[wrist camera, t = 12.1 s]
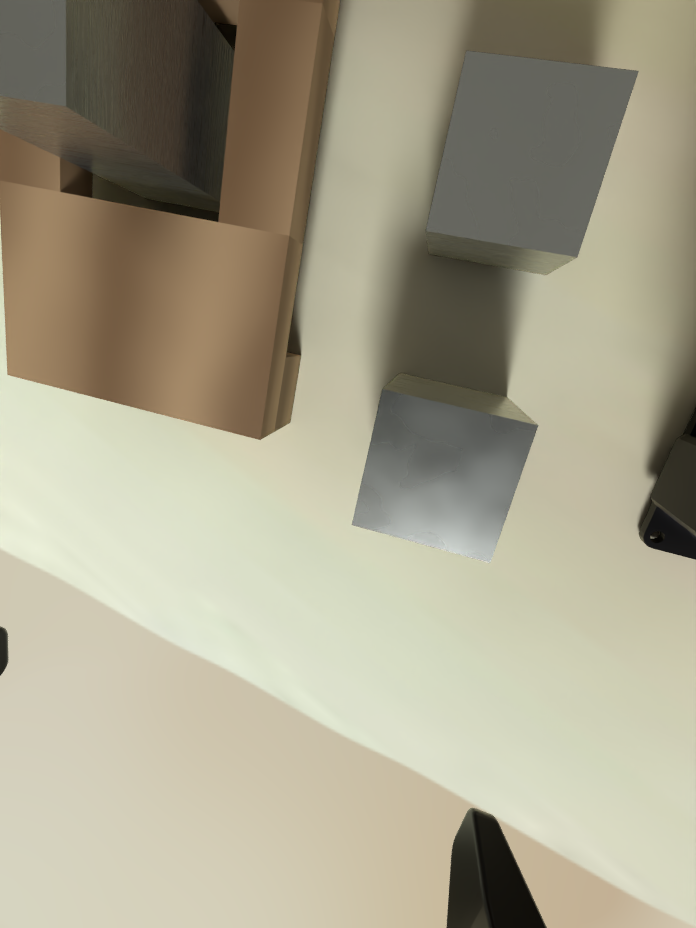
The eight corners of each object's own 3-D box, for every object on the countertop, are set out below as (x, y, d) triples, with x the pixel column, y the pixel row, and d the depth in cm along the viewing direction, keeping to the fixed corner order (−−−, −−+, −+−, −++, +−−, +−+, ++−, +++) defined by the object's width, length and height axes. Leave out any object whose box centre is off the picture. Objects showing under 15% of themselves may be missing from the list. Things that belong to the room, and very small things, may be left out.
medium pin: (506, 396, 18) (538, 425, 12) (475, 495, 19) (490, 563, 13) (400, 372, 18) (382, 389, 13) (377, 470, 20) (351, 524, 14)
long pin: (259, 86, 16) (65, -184, 8) (244, 217, 18) (65, 105, 9) (153, 71, 17) (-136, -197, 8) (147, 198, 18) (-107, 78, 10)
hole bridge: (392, -201, 13) (376, -376, 10) (290, 422, 20) (260, 439, 16) (76, -218, 15) (-26, -376, 12) (74, 368, 21) (7, 374, 18)
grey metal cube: (588, 138, 15) (638, 71, 11) (545, 275, 16) (577, 257, 13) (459, 120, 15) (466, 50, 12) (428, 254, 17) (425, 230, 13)
